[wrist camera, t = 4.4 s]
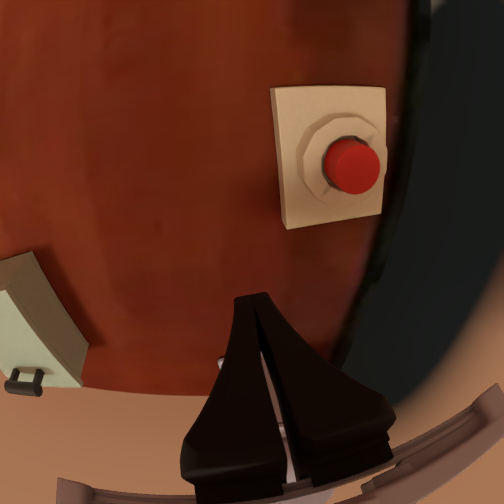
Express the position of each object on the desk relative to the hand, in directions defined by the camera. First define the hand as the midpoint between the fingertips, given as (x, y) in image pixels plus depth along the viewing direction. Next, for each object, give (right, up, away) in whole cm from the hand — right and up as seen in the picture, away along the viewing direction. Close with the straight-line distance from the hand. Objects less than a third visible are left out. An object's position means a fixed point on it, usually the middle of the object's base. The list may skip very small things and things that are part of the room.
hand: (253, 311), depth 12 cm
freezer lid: (-23, -6, +6) cm, 25 cm away
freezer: (-24, -3, +10) cm, 26 cm away
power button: (+6, +8, +5) cm, 11 cm away
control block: (+6, +10, +7) cm, 13 cm away
